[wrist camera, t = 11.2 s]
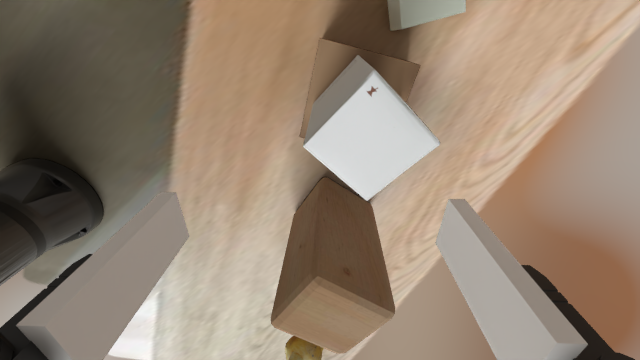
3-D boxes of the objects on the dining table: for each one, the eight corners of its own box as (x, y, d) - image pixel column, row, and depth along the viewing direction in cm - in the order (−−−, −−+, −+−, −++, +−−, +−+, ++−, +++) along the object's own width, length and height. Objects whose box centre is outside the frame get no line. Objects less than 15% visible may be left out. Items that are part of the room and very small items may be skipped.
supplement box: (310, 104, 30) (298, 145, 19) (358, 52, 27) (376, 65, 16) (354, 146, 32) (365, 204, 21) (402, 102, 29) (444, 143, 18)
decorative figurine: (284, 294, 55) (269, 374, 42) (315, 279, 52) (309, 360, 39) (311, 317, 59) (305, 398, 45) (341, 305, 56) (344, 387, 43)
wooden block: (323, 172, 40) (316, 275, 23) (373, 203, 43) (401, 317, 25) (292, 214, 45) (265, 328, 27) (339, 240, 47) (342, 360, 30)
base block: (304, 123, 37) (299, 137, 32) (322, 38, 32) (319, 38, 27) (377, 140, 38) (384, 157, 33) (406, 60, 33) (420, 65, 27)
